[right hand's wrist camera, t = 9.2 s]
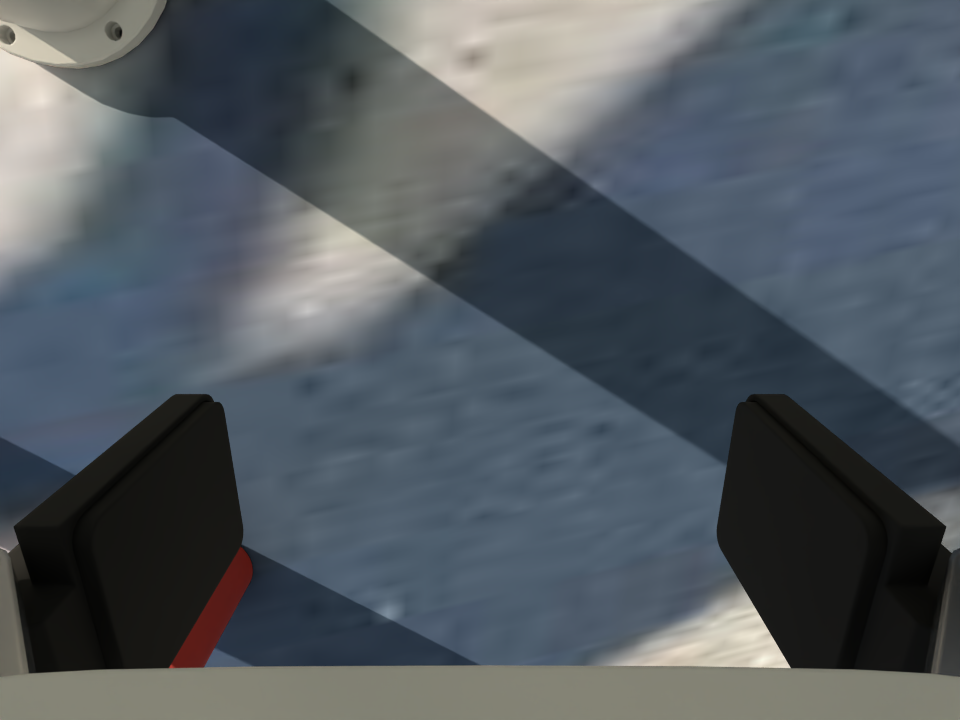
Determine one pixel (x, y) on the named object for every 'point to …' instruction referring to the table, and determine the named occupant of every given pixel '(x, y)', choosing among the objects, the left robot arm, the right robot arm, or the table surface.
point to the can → (215, 614)
